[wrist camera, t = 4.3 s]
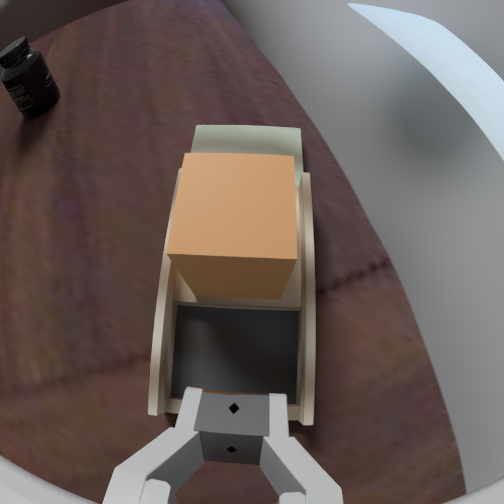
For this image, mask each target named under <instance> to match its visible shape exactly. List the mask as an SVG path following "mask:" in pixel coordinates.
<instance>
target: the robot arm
mask: <svg viewBox="0 0 504 504" xmlns="http://www.w3.org/2000/svg"><path fill="white" fill-rule="evenodd" d="M204 461H213V462H226V463H238V464H251V465H259V467H260V468H261V470H262V471H263V473H264V474H265V476H266V477H267V479H268V480H269V482H270V483H271V485H272V486H273V488H274V489H275V491H276V492H277V494H278V495H279V496H280V497H279V499H278V502H277V504H343V498H342V491H341V488H340V487H339V486H338V485H337V484H336V482H335V481H334V480H333V479H332V478H331V477H330V476H329V475H328V474H327V473H326V472H325V471H324V470H323V469H322V468H321V467H320V465H319V464H318V463H317V462H316V461H315V460H314V459H313V458H312V457H311V456H310V455H309V453H308V452H307V451H306V450H305V449H304V448H303V447H302V446H301V444H300V443H299V442H298V441H297V440H296V439H295V438H294V437H289V426H288V408H287V396H286V394H272V393H250V392H228V391H219V390H211V389H202V388H194V387H187V388H186V390H185V392H184V396H183V400H182V403H181V407H180V410H179V414H178V418H177V421H176V425H175V428H172V427H170V428H168V429H167V430H166V431H164V432H163V433H162V434H161V435H159V436H158V437H157V438H155V439H154V440H153V441H151V442H150V443H149V444H147V445H146V446H145V447H143V448H142V449H141V450H139V451H138V452H137V453H135V454H134V455H133V456H131V457H130V458H128V459H127V460H126V461H124V462H123V463H121V464H120V465H119V466H117V467H116V468H115V470H114V472H113V475H112V478H111V481H110V484H109V486H108V489H107V492H106V495H105V498H104V501H103V504H179V502H178V500H177V498H176V496H175V494H174V493H175V492H176V491H177V490H178V489H179V488H180V487H181V486H182V485H183V484H184V483H185V482H186V481H187V480H188V479H189V478H190V477H191V476H192V475H193V474H194V472H195V471H196V470H197V469H198V468H199V467H200V466H201V465H202V464H203V463H204ZM0 504H98V503H95V502H93V501H90V500H87V499H85V498H82V497H80V496H77V495H75V494H73V493H70V492H68V491H66V490H63V489H61V488H59V487H57V486H55V485H53V484H51V483H48V482H46V481H44V480H42V479H40V478H39V477H37V476H35V475H33V474H31V473H29V472H27V471H25V470H24V469H22V468H20V467H18V466H17V465H15V464H13V463H12V462H10V461H8V460H7V459H5V458H4V457H2V456H0ZM443 504H504V476H503V477H501V478H500V479H498V480H496V481H494V482H492V483H490V484H488V485H486V486H484V487H482V488H480V489H477V490H475V491H473V492H471V493H468V494H466V495H464V496H461V497H459V498H456V499H454V500H451V501H449V502H446V503H443Z"/></svg>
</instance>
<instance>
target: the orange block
mask: <svg viewBox="0 0 504 504" xmlns="http://www.w3.org/2000/svg"><path fill="white" fill-rule="evenodd" d="M166 254H167V255H168V257H169V258H170V260H171V261H172V263H173V264H174V266H175V267H176V269H177V270H178V272H179V273H180V275H181V276H182V278H183V279H184V281H185V282H186V284H187V285H188V287H189V288H190V289H191V291H192V292H193V294H194V295H195V296H210V297H228V298H249V299H274V300H280V299H281V296H282V294H283V292H284V289H285V287H286V285H287V282H288V280H289V278H290V275H291V273H292V271H293V268H294V266H295V263H296V261H297V221H296V190H295V166H294V156H286V155H269V154H245V153H185V156H184V160H183V165H182V170H181V175H180V179H179V184H178V189H177V195H176V200H175V205H174V211H173V216H172V222H171V228H170V234H169V240H168V246H167V253H166Z"/></svg>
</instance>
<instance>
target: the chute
mask: <svg viewBox="0 0 504 504" xmlns="http://www.w3.org/2000/svg"><path fill="white" fill-rule="evenodd" d="M191 153H245V154H269V155H286V156H294V166H295V190H296V221H297V261H296V263H295V266H294V268H293V271H292V273H291V275H290V278H289V280H288V282H287V285H286V287H285V289H284V292H283V294H282V296H281V299H280V300H274V299H249V298H228V297H210V296H195V295H194V294H193V292H192V291H191V289H190V288H189V287H188V285H187V284H186V282H185V281H184V279H183V278H182V276H181V275H180V273H179V272H178V270H177V269H176V267H175V266H174V264H173V263H172V261H171V260H170V258H169V257H168V255H167V254H166V253H167V246H168V240H169V234H170V228H171V222H172V216H173V211H174V205H175V200H176V195H177V189H178V184H179V179H180V175H181V170H182V169H179V172H178V177H177V181H176V186H175V191H174V196H173V201H172V207H171V212H170V218H169V223H168V229H167V235H166V241H165V247H164V253H163V260H162V267H161V274H160V281H159V289H158V296H157V305H156V313H155V323H154V333H153V343H152V355H151V368H150V384H149V404H148V414H149V415H155V416H158V415H160V414H162V413H164V412H169V413H176V414H179V410H180V407H181V403H182V400H183V396H184V392H185V390H186V388H187V387H194V388H202V389H211V390H219V391H228V392H250V393H272V394H286V396H287V408H288V420H299V421H300V422H301V423H302V424H303V425H313V417H314V393H315V350H316V304H315V260H314V235H313V216H312V199H311V184H310V173H304V172H303V157H302V143H301V131H300V128H287V127H271V126H247V125H197V126H196V131H195V135H194V140H193V145H192V149H191Z"/></svg>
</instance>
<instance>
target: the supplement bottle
mask: <svg viewBox="0 0 504 504" xmlns="http://www.w3.org/2000/svg"><path fill="white" fill-rule="evenodd" d="M0 66H1V68H3V67H4V70H3V72H2V74H1V81H2V83H3V85H4V86H5V88H6V90H7V91H8V93H9V95H10V96H11V98H12V100H13V101H14V103H15V104H16V106H17V108H18V109H19V111H20V112H21V114H22V115H23V116H24V117H25V118H27V119H32V118H35V117H37V116H39V115H41V114H42V113H44V112H45V111H46V110H48V109H49V108H50V107H51V106H52V105H53V104H54V103H55V101H56V100H57V98H58V96H59V89H58V87H57V85H56V83H55V81H54V79H53V77H52V75H51V73H50V71H49V69H48V66H47V64H46V62H45V60H44V58H43V56H42V54H41V52H40V51H39V50H37V49H30V44H29V43H28V41H27V38H26V37H22V38H20V39H18V40H16V41H15V42H13V43H11V44H10V45H9V46H7V47H6V48H5V49H4V50H3V51H2V52H1V53H0Z"/></svg>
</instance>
